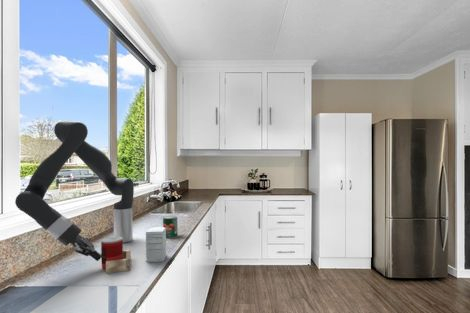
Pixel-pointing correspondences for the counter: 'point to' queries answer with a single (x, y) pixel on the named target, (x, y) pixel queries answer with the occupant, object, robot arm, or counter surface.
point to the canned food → (111, 249)
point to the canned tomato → (170, 226)
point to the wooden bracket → (119, 263)
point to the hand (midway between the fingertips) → (99, 258)
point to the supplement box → (155, 244)
